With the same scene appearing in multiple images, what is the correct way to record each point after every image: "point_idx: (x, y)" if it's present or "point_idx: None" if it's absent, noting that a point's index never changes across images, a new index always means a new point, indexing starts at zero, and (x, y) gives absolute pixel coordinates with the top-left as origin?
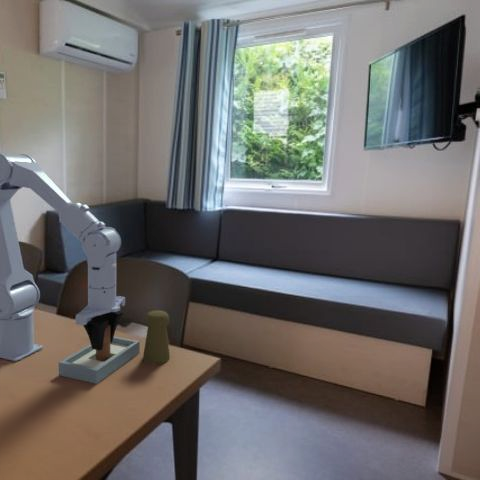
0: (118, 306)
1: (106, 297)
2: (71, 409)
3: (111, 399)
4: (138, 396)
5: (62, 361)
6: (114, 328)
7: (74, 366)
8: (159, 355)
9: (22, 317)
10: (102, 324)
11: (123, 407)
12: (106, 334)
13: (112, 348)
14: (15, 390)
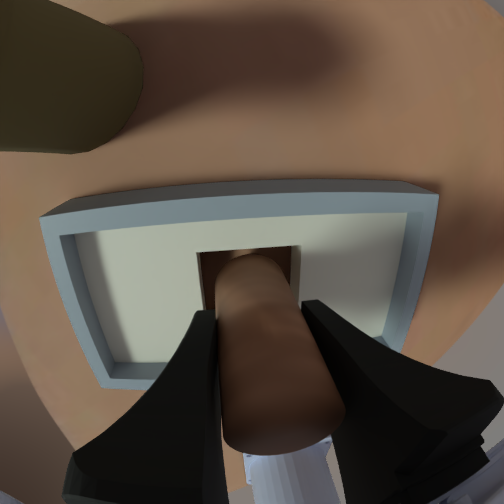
0: None
1: None
2: (498, 169)
3: (451, 85)
4: (407, 9)
5: None
6: (190, 374)
7: (415, 298)
8: (109, 27)
9: None
10: (496, 389)
11: (461, 40)
12: (307, 353)
13: (152, 307)
14: (446, 339)
